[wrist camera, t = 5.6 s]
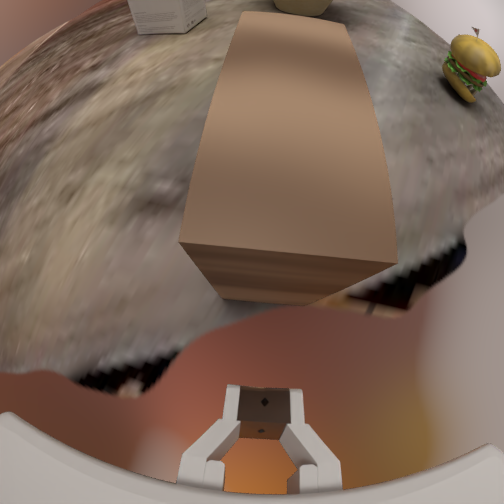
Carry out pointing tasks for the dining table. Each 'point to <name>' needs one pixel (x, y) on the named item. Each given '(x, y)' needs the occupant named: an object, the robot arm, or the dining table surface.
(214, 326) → the dining table surface
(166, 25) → the skincare box
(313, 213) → the block
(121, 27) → the dining table surface
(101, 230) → the dining table surface
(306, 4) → the plant pot
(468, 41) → the hamburger
